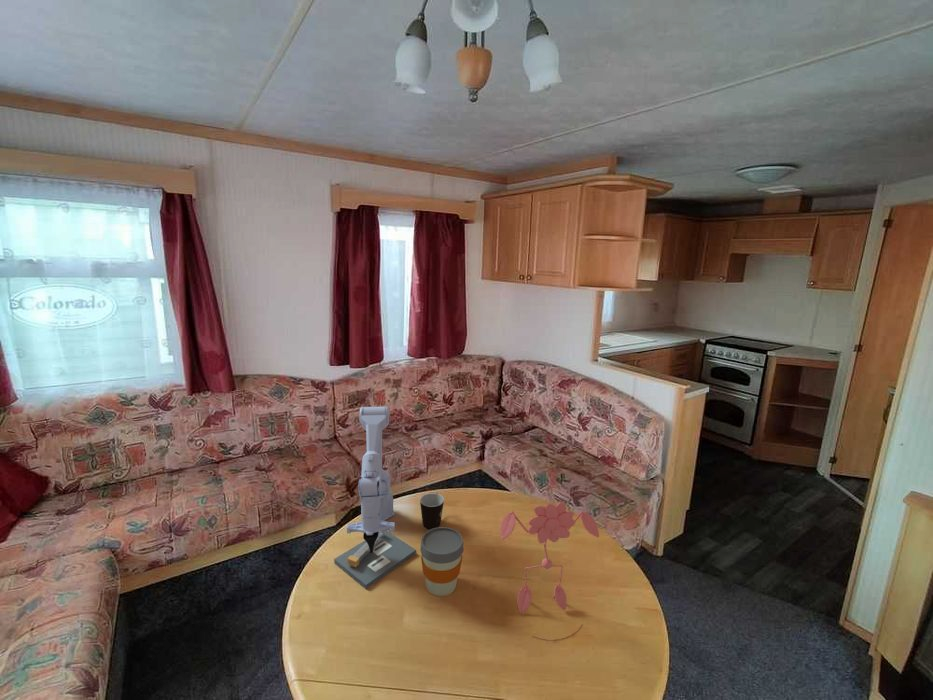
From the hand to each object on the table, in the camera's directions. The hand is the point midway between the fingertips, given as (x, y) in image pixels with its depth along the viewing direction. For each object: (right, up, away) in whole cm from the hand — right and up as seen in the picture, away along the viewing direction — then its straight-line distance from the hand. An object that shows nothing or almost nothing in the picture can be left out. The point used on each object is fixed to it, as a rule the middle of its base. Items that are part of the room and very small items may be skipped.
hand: (371, 550), depth 133 cm
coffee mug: (+18, 0, +20) cm, 27 cm away
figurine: (+51, -9, -19) cm, 55 cm away
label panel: (+1, -3, +1) cm, 3 cm away
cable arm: (-2, -1, +1) cm, 2 cm away
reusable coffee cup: (+23, -6, -8) cm, 25 cm away
